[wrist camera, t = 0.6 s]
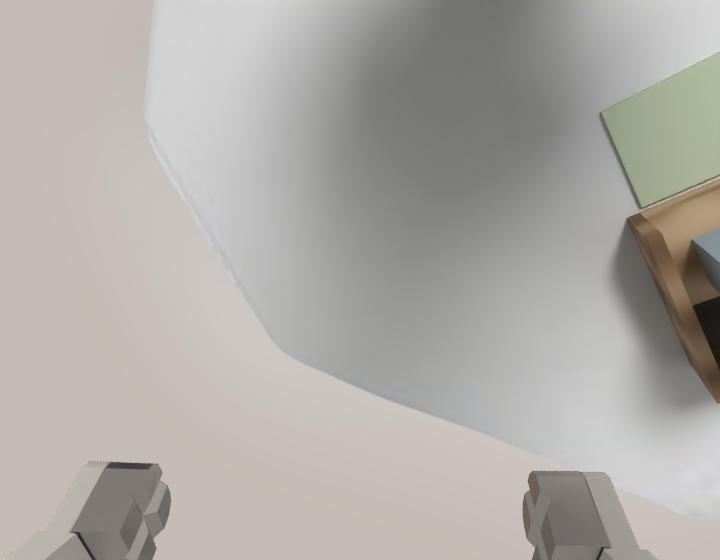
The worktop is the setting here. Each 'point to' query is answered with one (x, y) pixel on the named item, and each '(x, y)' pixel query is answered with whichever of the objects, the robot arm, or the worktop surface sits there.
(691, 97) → the mat
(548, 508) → the robot arm
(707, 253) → the block
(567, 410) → the worktop surface
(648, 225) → the brown wooden open box
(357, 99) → the worktop surface
